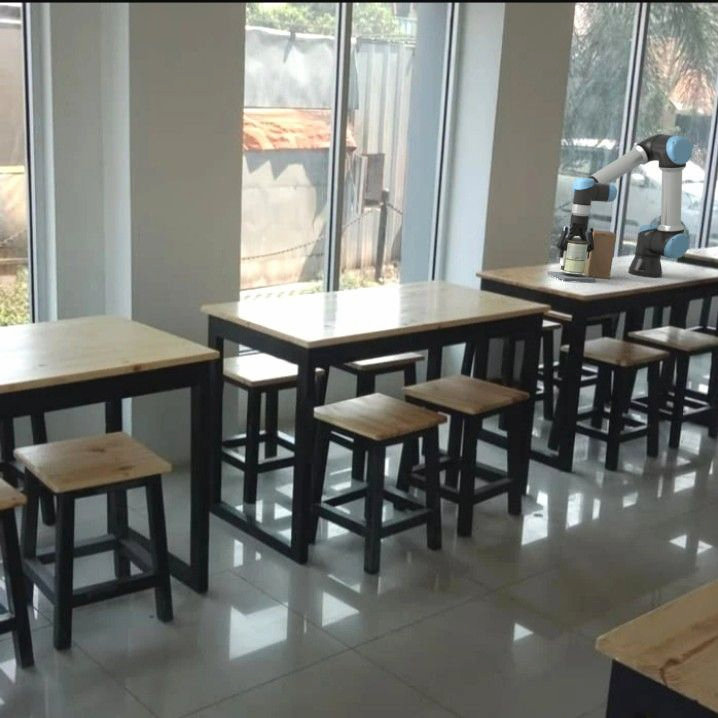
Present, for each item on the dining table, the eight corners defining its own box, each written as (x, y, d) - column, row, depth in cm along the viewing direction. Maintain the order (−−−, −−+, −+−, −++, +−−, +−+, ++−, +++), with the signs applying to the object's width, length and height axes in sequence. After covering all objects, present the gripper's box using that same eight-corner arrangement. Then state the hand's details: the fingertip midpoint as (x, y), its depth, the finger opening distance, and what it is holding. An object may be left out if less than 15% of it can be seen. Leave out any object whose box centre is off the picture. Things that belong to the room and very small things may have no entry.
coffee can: (554, 270, 452) (559, 237, 448) (571, 269, 458) (576, 237, 454) (572, 274, 444) (577, 242, 440) (588, 274, 450) (593, 241, 446)
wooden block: (609, 279, 460) (616, 234, 455) (587, 277, 460) (593, 232, 455) (604, 275, 470) (611, 231, 465) (582, 273, 470) (589, 229, 465)
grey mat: (577, 275, 461) (577, 272, 461) (594, 282, 447) (595, 279, 447) (547, 274, 456) (547, 271, 456) (564, 281, 442) (564, 278, 442)
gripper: (598, 214, 452) (591, 265, 457) (552, 211, 444) (545, 263, 450) (607, 217, 445) (600, 268, 451) (561, 214, 438) (553, 266, 443)
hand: (572, 265), depth 450 cm, fingers closed on coffee can, 10 cm apart
